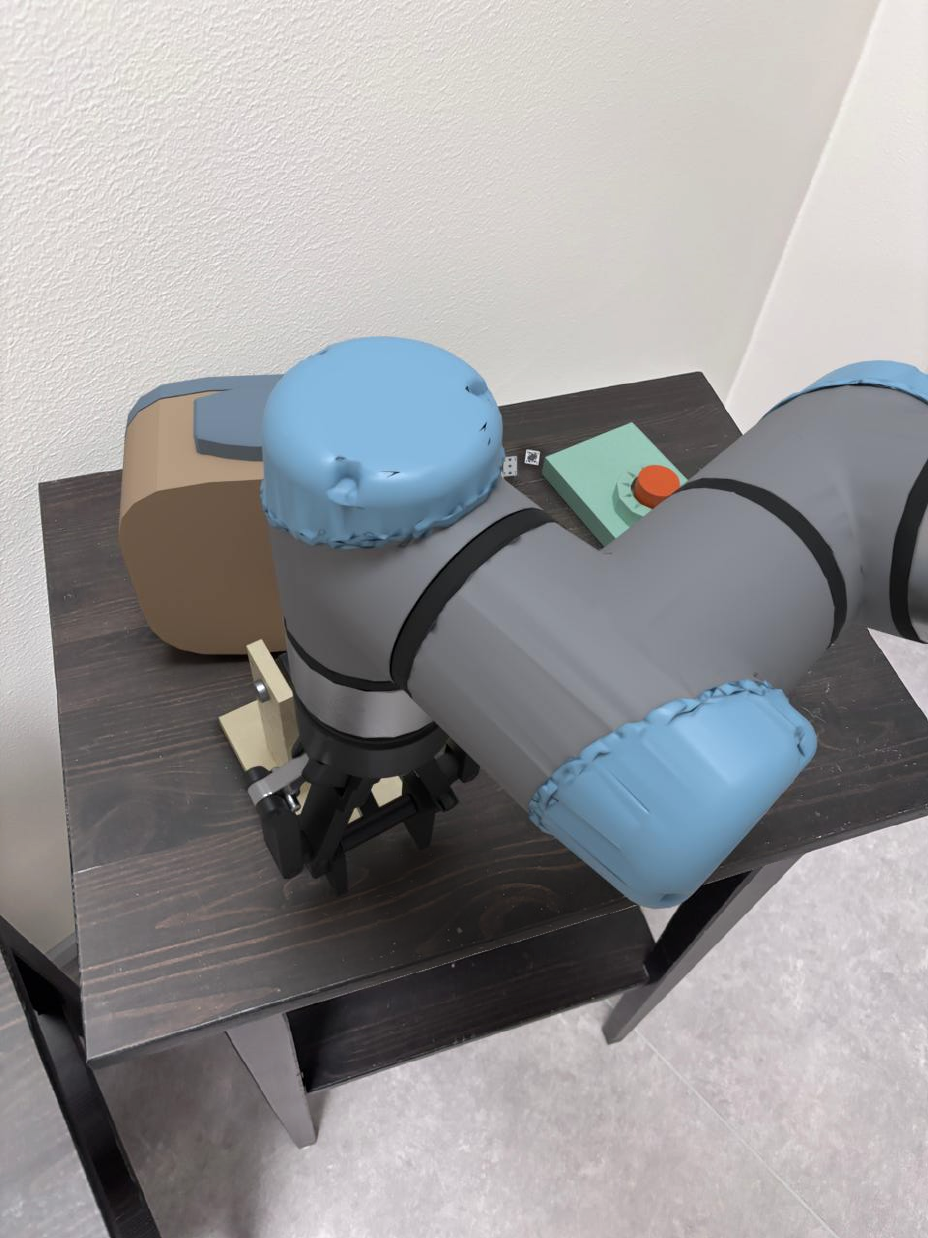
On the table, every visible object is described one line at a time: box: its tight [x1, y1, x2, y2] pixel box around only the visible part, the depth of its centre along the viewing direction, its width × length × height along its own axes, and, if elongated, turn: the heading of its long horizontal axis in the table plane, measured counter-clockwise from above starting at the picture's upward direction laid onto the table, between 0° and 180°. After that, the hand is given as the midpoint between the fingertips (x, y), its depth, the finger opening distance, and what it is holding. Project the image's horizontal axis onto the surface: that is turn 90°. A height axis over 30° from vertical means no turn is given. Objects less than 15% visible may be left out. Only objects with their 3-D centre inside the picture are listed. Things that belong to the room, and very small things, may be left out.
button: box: [633, 465, 680, 509], centre depth 78 cm, size 4×4×2 cm
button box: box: [541, 421, 689, 548], centre depth 81 cm, size 12×10×4 cm
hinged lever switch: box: [218, 639, 403, 823], centre depth 60 cm, size 12×9×15 cm
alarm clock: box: [117, 373, 287, 655], centre depth 64 cm, size 21×10×22 cm, turn 99°
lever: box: [274, 651, 417, 854], centre depth 55 cm, size 12×5×2 cm, turn 32°
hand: (374, 853), depth 59 cm, fingers open, 5 cm apart
